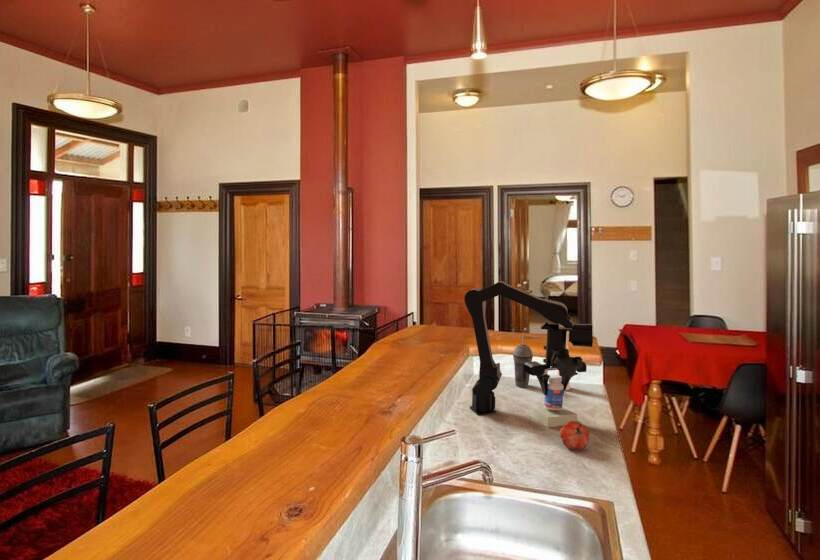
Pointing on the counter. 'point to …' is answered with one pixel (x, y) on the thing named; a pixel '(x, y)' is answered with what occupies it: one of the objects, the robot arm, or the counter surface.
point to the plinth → (552, 415)
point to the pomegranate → (575, 435)
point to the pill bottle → (554, 393)
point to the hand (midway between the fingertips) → (553, 394)
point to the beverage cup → (520, 357)
